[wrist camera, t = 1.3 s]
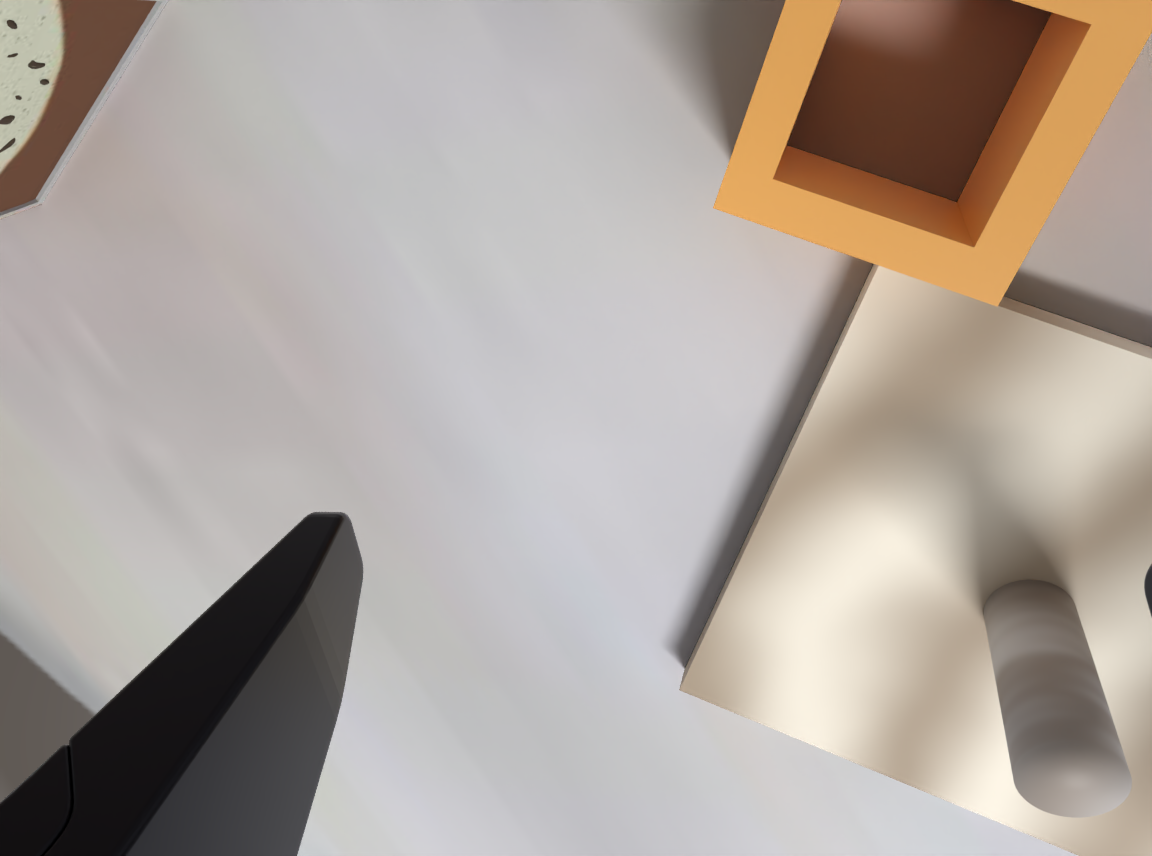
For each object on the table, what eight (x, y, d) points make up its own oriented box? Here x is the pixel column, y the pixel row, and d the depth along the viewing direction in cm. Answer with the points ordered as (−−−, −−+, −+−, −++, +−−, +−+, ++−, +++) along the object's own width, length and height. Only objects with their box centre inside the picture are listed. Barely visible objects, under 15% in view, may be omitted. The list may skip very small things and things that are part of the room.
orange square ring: (1122, -23, 19) (1180, -19, 15) (977, 252, 22) (997, 306, 19) (834, -109, 19) (828, -123, 16) (735, 170, 23) (713, 208, 19)
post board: (1528, 477, 21) (1791, 682, 15) (1137, 856, 29) (1206, 1085, 23) (878, 253, 23) (883, 357, 17) (684, 669, 31) (642, 837, 25)
